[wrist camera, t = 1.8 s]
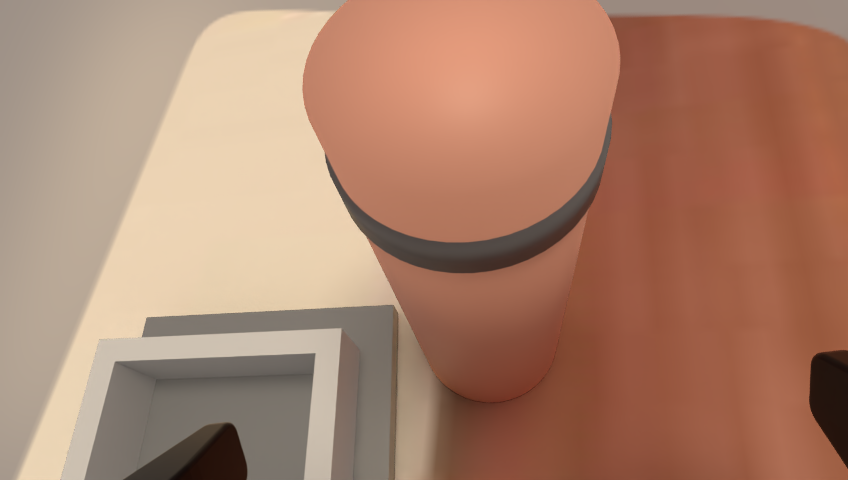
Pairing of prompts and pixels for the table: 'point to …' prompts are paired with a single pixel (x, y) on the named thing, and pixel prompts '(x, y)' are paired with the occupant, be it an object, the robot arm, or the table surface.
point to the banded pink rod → (469, 166)
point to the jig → (247, 393)
